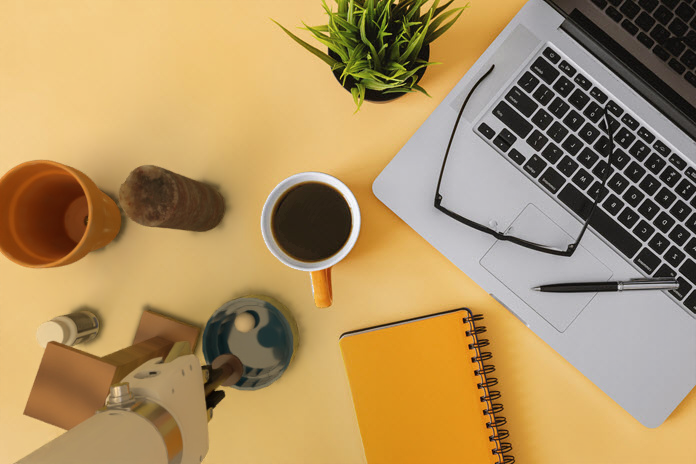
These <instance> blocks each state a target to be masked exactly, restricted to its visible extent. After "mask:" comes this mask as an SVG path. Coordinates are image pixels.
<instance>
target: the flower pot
mask: <svg viewBox="0 0 696 464" xmlns="http://www.w3.org/2000/svg"><path fill="white" fill-rule="evenodd" d="M121 226H122V214H121V210H120V208H119V206H118V204H117V203H116V202H115V200H114V199H113V198H111V197H110V196H109V195H107V194H106V193H105V192H103V191H102V190H100V189H99V186H98V185H97V184H96V183H95V181H93V179H91V178H90V177H89V175H87V174H86V173H84V172H82V171H81V170H79V169H77V168H74V167H72V166H70V165H67V164H64V163H60V162H57V161H54V160H49V159H33V160H28V161H25V162H22V163H20V164H17V165H15V166H13V167H12V168H10V169H9V170H8V171H6V172H5V173H4V174H3V175H2V176H1V177H0V254H2V255H3V256H4V257H5V258H6V259H7V260H9V261H11V262H12V263H14V264H16V265H19V266H22V267H25V268H29V269H36V270H37V269H38V270H39V269H51V268H60V267H65V266H70V265H72V264H75V263H76V262H79V261H80V260H82V259H84V257H86V256H88V255H89V254H90V253H91V252H94V251H96V250H97V251H98V250H99V249H102V248H105V247H106V246H108V245H110V244H111V243H112V242H113V241H114V240H115V239H116V237H117V236H118V234H119V232H120V231H121Z"/></svg>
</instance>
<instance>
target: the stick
mask: <svg viewBox="0 0 696 464" xmlns="http://www.w3.org/2000/svg"><path fill="white" fill-rule="evenodd" d="M211 365H212V369H218V368H222V369H223V373H222V375H221V376H220V377H219V378H218V379H217V380H216V381H214V382H213V383H212V384H205V385H204V393H205V399H206V398H207V397H208V396H209V395H210V394H211V393H213V392H214V391H216V390H218V388H219V387H225V388H228V386H232V385H234V384H235V383H237V382H238V381H239V380H240V378H241V377H242V374H243V364H242V362H241V360H240V359H239V358H238V357H237V356H236V355H234V354H231V353H225V354H222V355H220V356H218V357H217V358H215V359H214V361H213V362H212V364H211Z"/></svg>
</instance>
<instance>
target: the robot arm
mask: <svg viewBox="0 0 696 464" xmlns="http://www.w3.org/2000/svg"><path fill="white" fill-rule="evenodd" d="M222 373H223V369H222V368H218V369H212V365H206V364H204V365H203V364H201V361H200V359H199V357H198V356H197V355H196V354H194V352H193V353H192V350H191V346H190V343H189V341H182V342H176V343H175V344H174V346H173V347H172V349H171V351H170V352H169V354H168V356H167V357H166V359H165V361H164V362H163V357H158V358H154V359H151V360H149V361H147V362H145V363H144V364H142V365H141V366H139V367H138V368H136V369H135V370H134V371H132V372H131V373H130V374H129V375H127V376H126V377H125V378H124V379H123V380H122V381H121V382H119V383H117V384H113V385H111V386H110V394H109V395H108V397H107V398H106V404H105V406H103V407H102V408H100V409H98V410H97V411H95V413H96V414H95V415H93V416H92V417H90V418H88V419H87V420H85V421H83V422H82V423H80V424H78V425H77V426H75V427H73V428H72V429H70V430H68V431H67V430H66V431H65V432H63V433H61V434H60V435H59V436H57V437H54V438H53V439H52V440H50V441H49V442H47V443H45V444H44V445H42V446H40V447H38V448H37V449H35V450H33V451H32V452H30V453H29V454H27V455H25V456H24V457H22V458H20V459H19V460H17V461H15V462H14V463H13V464H202V463H203V461H204V460H205V458H206V456H207V454H208V452H209V449H210V434H209V422H211V420H212V419H213V418H214V417H213V416H214V409H215V408H216V407H217V406H218V405H219V403H220V402H222V400H224V398H226V391H225V390H224V389H216V390H215V391H214V392H213V393H211V394H210V395H209V396H208V397H207V398H206V399H205V393H204V385H205V384H212V383H213V382H214V381H216V380H217V379H218V378H219V377H220V376H221V375H222Z"/></svg>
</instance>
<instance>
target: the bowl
mask: <svg viewBox="0 0 696 464" xmlns="http://www.w3.org/2000/svg"><path fill="white" fill-rule="evenodd" d="M243 312H248V313H250V314H252V315H253V316H254V318H255V326H254V328H253V329H252V330H251V331H250V332H247V333H242V332H240V331H238V330H237V329H236V327H235V319H236V317H237V316H238V315H239V314H240V313H243ZM299 333H300V332H299V329H298V325H297V323H296V319H295V317H294V316H293V314H292V313H291V312H290V310H289V309H288V307H287V306H286V305H284V304H283V303H281V302H280V301H279V300H278V299H276V298H275V297H271V296H267V295H265V294H247V295H244V296H241V297H238V298H234V299H232V300H229V301H227V302H225V303H224V304H222V305H221V306H220V307H218V308H217V309H215V310H214V312H213V314H212V315H211V316H210V317H209V319H208V320H207V321H206V323H205V327H204V330H203V332H202V335H201V342H202V343H201V351H202V354H203V355H202V356H203V359H204V362H205V365H211V364H212V362H213V361H214V359H215V358H217V357H218V356H220V355H222V354H225V353H231V354H234V355H236V356H237V357H238V358H239V359H240V360H241V362H242V364H243V374H242V377H241V378H240V380H239V381H238V382H237V383H235V384H234V385H232V386H228V387H229V388H232V389H235V390H237V391H241V392H242V391H245V392H249V391H251V392H254V391H258V390H261V389H264V388H267V387H269V386H271V385H272V384H274V383H275V382H276V381H278V380H279V379H281V377H282V376H283V375H284V373H285V372H286V371H287V369H288V368H289V366H290V365H291V363H292V362H293V361H294V359H295V357H296V354H297V351H298V348H299ZM228 387H227V388H228Z"/></svg>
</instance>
